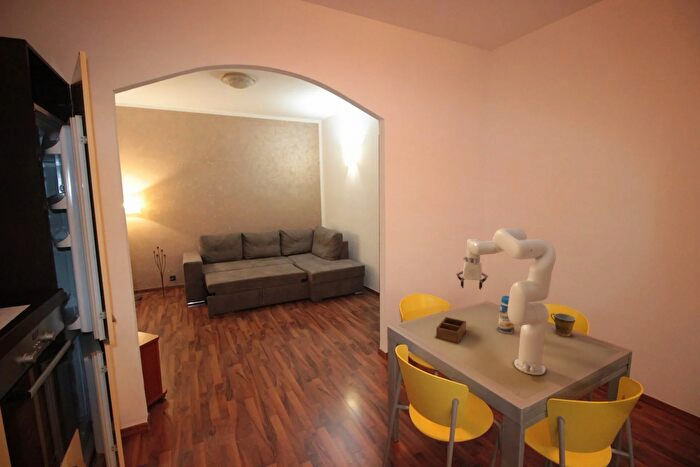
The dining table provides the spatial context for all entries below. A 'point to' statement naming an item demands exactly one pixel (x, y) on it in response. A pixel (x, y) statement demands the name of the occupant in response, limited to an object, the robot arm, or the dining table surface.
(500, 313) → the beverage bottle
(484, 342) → the dining table surface
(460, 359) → the dining table surface
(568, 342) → the dining table surface
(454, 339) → the brown open box
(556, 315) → the ceramic cup
